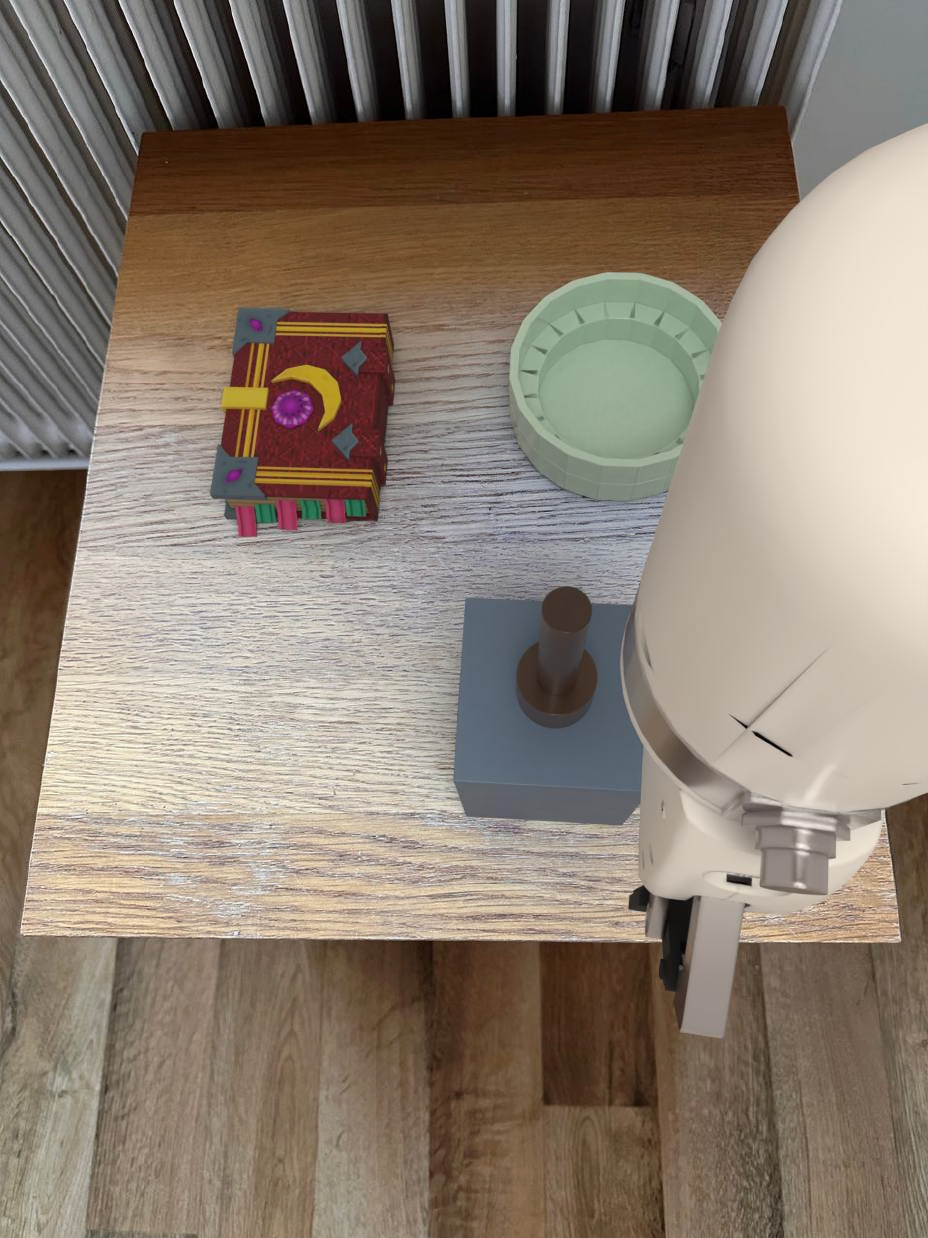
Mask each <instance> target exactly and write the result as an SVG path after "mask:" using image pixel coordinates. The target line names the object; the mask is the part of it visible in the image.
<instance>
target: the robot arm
mask: <svg viewBox="0 0 928 1238" xmlns="http://www.w3.org/2000/svg"><path fill="white" fill-rule="evenodd" d="M635 593H636V594H635V596H634V600H633V602H632V605H633V606H632V609H631V612H630V614H629V617H628V620H627V624H626V628H625V632H624V636H623V640H622V647H621V658H620V671H621V680H622V688H623V695H624V700H625V703H626V707H627V710H628V713H629V716H630V719H631V722H632V724H633V726H634V728H635V730H636V732H637V734H638V736H639V738H640V740H641V742H642V744H643V745H644V748H643V762H642V783H641V802H640V805H639V807H640V808H639V826H638V827H639V829H638V830H639V831H638V861H637V863H638V866H637V875H638V878H639V880H640V882H641V883H642V885H640V886H639V887H637V888H635V889H633V890H632V893H631V894H629V896H628V906H627V909H628V910H629V911H634V912H641V913H645V917H644V919H645V920H644V936H645V938H647V939H648V938H649V939H656V940H661V947H662V958H660V959H659V966H658V978H659V980H662V984H663V986H664V990H665V991H667V992H673V993H674V997H673V1005H674V1012H675V1017H676V1022H677V1029H678V1032H679V1033H686V1034H691V1035H697V1036H704V1037H710V1038H715V1039H716V1038H717V1039H724V1037H725V1033H726V1029H727V1023H728V1015H729V1009H730V1003H731V997H732V989H733V984H734V978H735V977H734V976H735V972H736V965H737V958H738V952H739V944H740V937H741V931H742V925H743V919H744V912H745V913H755V914H756V913H757V914H771V915H775V914H776V915H786V914H793V913H796V912H799V911H801V910H803V909H805V908H808V907H810V906H813V905H815V904H818V903H819V902H821V901H822V900H824V899H826V898H828V897H829V896H831V895H832V894H834V893H835V892H837V891H838V890H839V889H840V888H842V887H843V886H844V885H846V884H847V883H848V882H850V881H851V879H852V878H853V877H854V876H855V875H856V873H857V872H858V871H860V869H861V868H862V867H863V865H865V864H866V862H867V860H868V859H869V857H870V856H871V854H872V853H873V851H874V850H875V848H876V846H877V845H878V844H879V840H880V839H881V833H882V830H883V824H884V819H885V813H886V810H887V809H889V808H892V807H895V806H897V805H900V804H904V803H907V802H910V801H912V800H913V799H915V798H917V797H919V796H921V795H925V794H928V122H927V123H925V124H921V125H919V126H917V127H915V128H913V129H910V130H907V131H905V132H903V133H901V134H899V135H897V136H894V137H892V138H889V139H887V140H885V141H883V142H881V143H879V144H876V145H874V146H872V147H869V148H868V149H866V150H864V151H862V152H861V153H860V154H858V155H856V156H855V157H854V158H852V159H851V160H849V161H848V162H846V163H845V164H843V165H842V166H840V167H839V168H838V169H836V170H835V171H833V172H831V173H830V174H829V175H828V176H827V177H826V178H824V179H822V181H820V183H818V184H817V185H816V186H815V187H813V188H812V190H811V191H809V193H807V194H806V196H804V197H803V198H802V199H801V200H800V201H799V202H798V203H797V204H796V205H795V206H794V207H793V208H792V209H791V210H790V211H789V212H788V213H787V215H786V216H785V217H784V218H783V219H782V220H781V221H780V223H779V224H778V225H777V226H776V228H775V229H774V230H773V231H772V232H771V234H770V235H769V236H768V237H767V239H766V240H765V242H764V243H763V244H762V245H761V247H760V248H759V250H758V251H757V252H756V254H755V255H754V257H753V258H752V259H751V261H750V263H749V265H748V267H747V269H746V270H745V272H744V274H743V277H742V278H741V280H740V283H739V285H738V287H737V288H736V291H735V292H734V295H733V297H732V299H731V301H730V303H729V306H728V308H727V311H726V313H725V316H724V318H723V321H722V325H721V328H720V330H719V333H718V335H717V338H716V341H715V344H714V347H713V350H712V353H711V356H710V359H709V362H708V366H707V369H706V372H705V375H704V378H703V382H702V385H701V388H700V391H699V394H698V398H697V401H696V404H695V407H694V410H693V413H692V417H691V420H690V423H689V426H688V429H687V433H686V436H685V439H684V442H683V445H682V448H681V452H680V455H679V458H678V461H677V464H676V468H675V471H674V474H673V477H672V480H671V484H670V487H669V489H668V490H667V493H666V497H665V499H664V504H663V506H662V509H661V513H660V515H659V519H658V522H657V525H656V528H655V530H654V535H653V538H652V541H651V544H650V547H649V551H648V555H647V557H646V560H645V563H644V566H643V570H642V573H641V575H640V581H639V584H638V587H637V591H636V592H635Z"/></svg>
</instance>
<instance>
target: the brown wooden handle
mask: <svg viewBox="0 0 928 1238" xmlns="http://www.w3.org/2000/svg"><path fill="white" fill-rule="evenodd" d="M542 601H543V604H542V611H541V624H540V637H539V642H537V643H535V644H533V645H532V646H531V647H530V648H529V649H527V650H526V652H525V653H524V654H523V656H522V657H521V659H520V661H519V664H518V667H517V674H516V694H517V700H518V703H519V705H520V707H521V709H522V711H523V712H524V714H525V715H526V716H527V717H528V718H529V719H530V720H532V721H533V722H534V723H536V724H538V725H540V726H543V727H547V728H564V727H568V726H570V725H573V724H575V723H576V722H578V721H579V720H580V719H582V717H583V716H584V715H585V714H586V713H587V711H588V710H589V708H590V706H591V703H592V700H593V697H594V693H595V690H596V686H597V680H598V674H597V668H596V665H595V662H594V660H593V658H592V657H591V655H590V654H589V653H588V651H587V650H586V649H585V648H584V647H585V642H586V638H587V634H588V629H589V625H590V620H591V616H592V605H591V603H592V602H591V600H590V598H589V596H588V595H587V594H586V593H585V592H584V591H583V590H581V589H579V588H577V587H575V586H570V585H569V586H568V585H564V586H563V585H562V586H559V587H556V588H554V589H552V590H551V591H549V592H548V593H547V594H546V596H545V597H544V599H543V600H542Z"/></svg>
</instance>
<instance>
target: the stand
mask: <svg viewBox="0 0 928 1238" xmlns="http://www.w3.org/2000/svg"><path fill="white" fill-rule="evenodd" d="M543 601H544V600H534V599H533V600H530V599H507V598H488V597H487V598H485V597H465V599H464V611H463V615H464V616H463V628H462V643H461V655H460V656H461V657H460V673H459V686H458V687H459V688H458V701H457V702H458V703H457V716H456V717H457V718H456V719H457V720H456V732H455V744H454V745H455V748H454V749H455V750H454V761H453V775H452V776H453V777H452V778H453V779H452V781H453V783H454V786H455V789H456V791H457V794H458V797H459V799H460V803H461V804H462V809H463V810H464V813H465V816H466V817H467V818H468V817H470V818H485V819H486V818H487V819H505V820H521V821H537V822H555V823H557V822H558V823H571V824H591V825H605V826H607V825H608V826H623V825H624V823H625V822H626V821H627V820H628V819H629V818H630V816H632V814H633V813H634V812H635V811H637V809H638V808H639V807H640V802H641V783H642V762H643V748H644V745H643V744H642V742H641V740H640V738H639V736H638V734H637V732H636V730H635V728H634V726H633V724H632V722H631V719H630V716H629V713H628V710H627V707H626V703H625V700H624V695H623V688H622V680H621V671H620V658H621V647H622V640H623V636H624V632H625V628H626V624H627V620H628V617H629V614H630V612H631V609H632V606H633V604H624V603H602V602H600V603H599V602H591V605H592V616H591V620H590V625H589V629H588V634H587V638H586V642H585V647H584V648H585V649H586V650H587V651H588V653H589V654H590V655H591V657H592V658H593V660H594V662H595V665H596V668H597V674H598V680H597V686H596V690H595V693H594V697H593V700H592V703H591V706H590V708H589V710H588V711H587V713H586V714H585V715H584V716H583V717H582V719H580V720H579V721H578V722H576V723H575V724H573V725H570V726H568V727H564V728H547V727H543V726H540V725H538V724H536V723H534V722H533V721H532V720H530V719H529V718H528V717H527V716H526V715H525V714H524V712H523V711H522V709H521V707H520V705H519V703H518V700H517V694H516V674H517V667H518V664H519V661H520V659H521V657H522V656H523V654H524V653H525V652H526V650H527V649H529V648H530V647H531V646H532V645H533V644H535V643H537V642H539V637H540V624H541V611H542V604H543Z"/></svg>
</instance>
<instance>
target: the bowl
mask: <svg viewBox="0 0 928 1238" xmlns="http://www.w3.org/2000/svg"><path fill="white" fill-rule="evenodd" d="M722 323H723V321H721V320H720V319H719V317H718V316H717V315H716V314H715V313H714V312H713V310H712V309H711V308H710V307H709V306H708V305H707V304H706V303H705V302H704V301H703V300H702V299H701V298H700V297H699V296H696V295H695V294H693V293H692V292H690V291H689V290H687V289H685V288H684V287H682V286H680V285H679V284H677V283H676V282H673V281H670V280H668V279H664V278H661V277H656V276H654V275H650V274H646V273H643V272H624V271H623V272H622V271H621V272H617V271H615V272H614V271H607V272H605V271H604V272H601V273H597V274H593V275H589V276H586V277H581V278H576V279H573V280H571V281H569V282H568V283H565V284H564V285H562V286H561V287H559V288H557V289H555V290H554V291H552V292H550V293H549V294H547V295H545V296H544V297H543V298H542V299H541V300H540V301H539V302H537V304H536V306H535V307H534V308H533V309H532V310H531V311H530V312H528V314H527V315H526V316H525V317H524V318H523V320H522V321H521V323H520V326H519V328H518V330H517V333H516V335H515V337H514V340H513V343H512V344H511V347H510V355H509V356H510V357H509V371H508V372H509V374H508V386H509V387H508V389H509V392H508V394H509V395H508V396H509V404H508V405H509V420H510V423H511V426H512V430H513V432H514V436H515V440H516V442H517V445H518V446H519V448H520V449H521V451H522V452H523V453H524V455H525V456H526V457H527V459H528V460H529V462H530V463H531V464H532V466H533V467H534V468H535V469H536V470H537V472H539V473H540V474H542V475H543V476H544V477H546V478H547V479H548V480H550V481H552V482H553V483H554V484H556V485H557V486H558V487H560V488H561V489H563V490H565V491H569V492H571V493H575V494H577V495H580V496H584V497H587V498H588V499H589V498H590V499H593V500H596V501H621V502H622V501H624V502H630V501H636V500H639V499H643V498H647V497H653V496H656V495H659V494H663V493H665V492H668V490H669V487H670V484H671V480H672V477H673V474H674V471H675V468H676V464H677V461H678V458H679V455H680V452H681V448H682V445H683V442H684V439H685V436H686V433H687V429H688V426H689V423H690V420H691V417H692V413H693V410H694V407H695V404H696V401H697V398H698V394H699V391H700V388H701V385H702V382H703V378H704V375H705V372H706V369H707V366H708V362H709V359H710V356H711V353H712V350H713V347H714V344H715V341H716V338H717V335H718V333H719V330H720V328H721V325H722Z"/></svg>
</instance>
